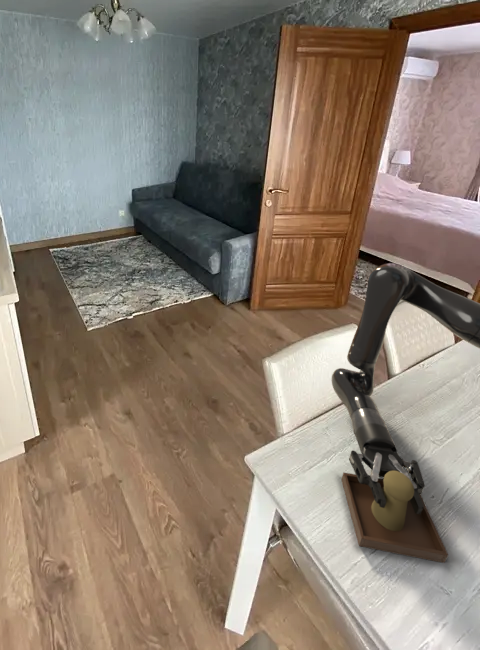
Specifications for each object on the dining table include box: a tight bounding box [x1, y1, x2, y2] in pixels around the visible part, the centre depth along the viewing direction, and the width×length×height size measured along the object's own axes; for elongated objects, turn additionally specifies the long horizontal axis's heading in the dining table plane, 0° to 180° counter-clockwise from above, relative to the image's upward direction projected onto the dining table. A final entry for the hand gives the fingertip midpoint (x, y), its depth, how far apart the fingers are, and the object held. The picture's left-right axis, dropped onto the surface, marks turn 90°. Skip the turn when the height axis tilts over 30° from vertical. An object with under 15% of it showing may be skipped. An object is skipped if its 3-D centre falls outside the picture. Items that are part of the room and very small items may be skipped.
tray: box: [341, 472, 449, 564], centre depth 72 cm, size 15×13×2 cm
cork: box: [371, 471, 414, 531], centre depth 70 cm, size 6×6×11 cm
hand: (401, 508), depth 67 cm, fingers open, 6 cm apart
